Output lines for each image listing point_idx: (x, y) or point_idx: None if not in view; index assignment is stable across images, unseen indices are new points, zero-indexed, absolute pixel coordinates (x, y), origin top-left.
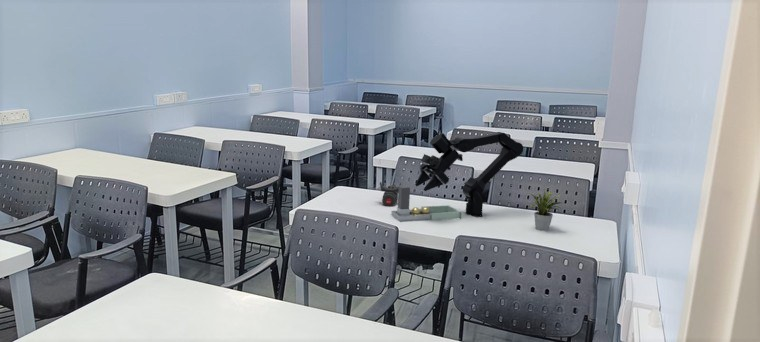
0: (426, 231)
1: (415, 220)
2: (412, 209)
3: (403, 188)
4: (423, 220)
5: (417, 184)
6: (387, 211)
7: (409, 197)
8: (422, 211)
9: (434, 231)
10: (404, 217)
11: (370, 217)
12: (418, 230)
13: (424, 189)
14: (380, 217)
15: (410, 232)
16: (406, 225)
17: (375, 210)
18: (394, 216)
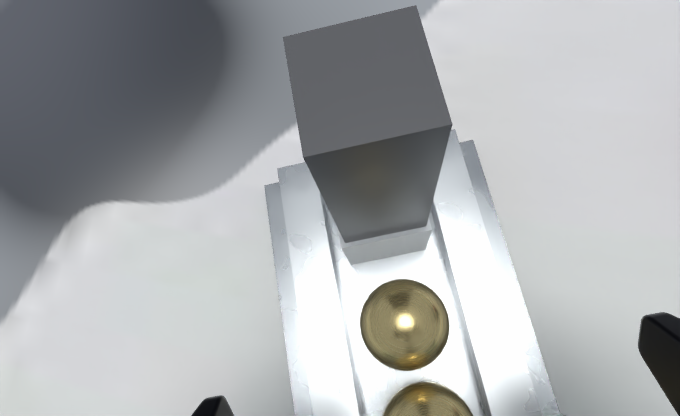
0: (62, 338)
1: (293, 304)
2: (393, 287)
3: (289, 67)
4: (289, 372)
5: (663, 362)
6: (600, 135)
7: (329, 209)
8: (398, 391)
9: (48, 399)
10: (284, 210)
11: None
12: (95, 286)
13: (202, 410)
14: None
15: (68, 227)
16: (216, 225)
17: (617, 55)
18: None
